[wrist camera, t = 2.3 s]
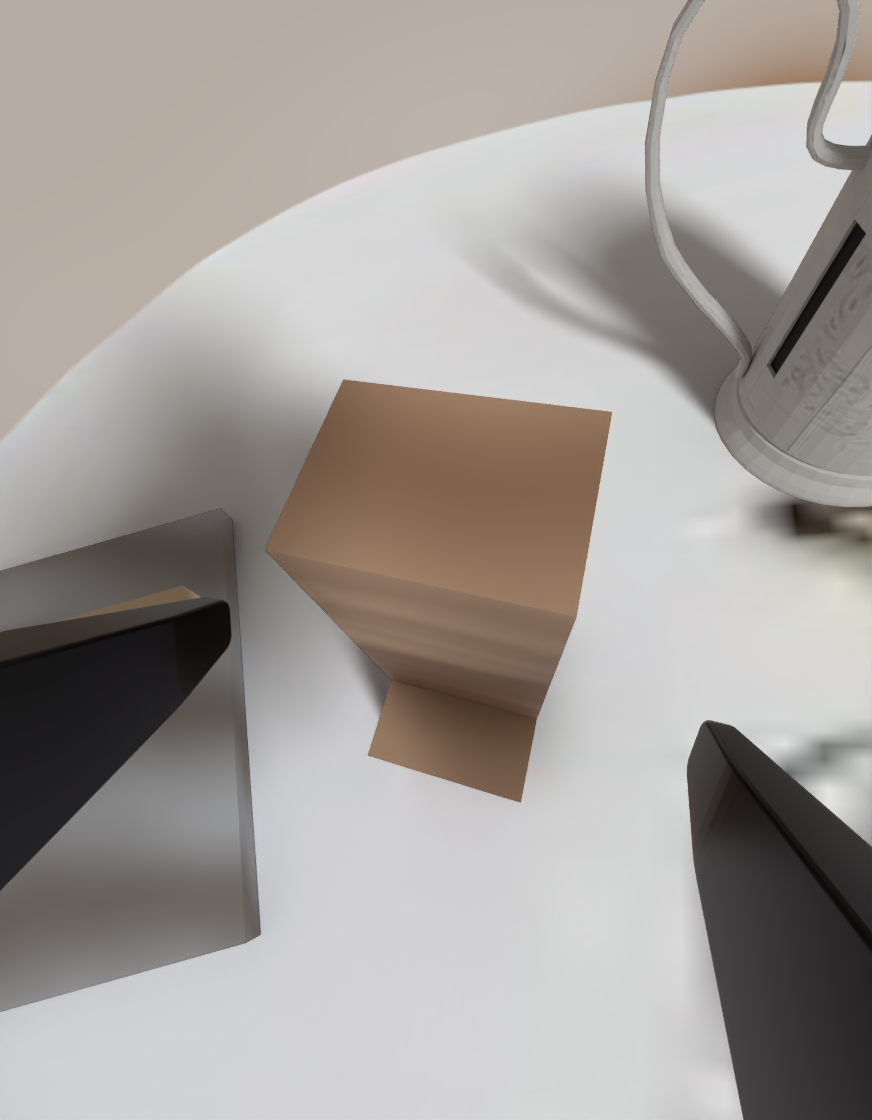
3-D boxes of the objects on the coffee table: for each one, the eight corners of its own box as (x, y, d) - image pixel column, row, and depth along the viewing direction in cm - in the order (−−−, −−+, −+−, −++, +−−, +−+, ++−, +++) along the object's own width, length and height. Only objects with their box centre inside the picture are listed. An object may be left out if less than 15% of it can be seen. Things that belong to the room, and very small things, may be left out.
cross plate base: (260, 934, 16) (187, 975, 12) (-102, 1036, 16) (-281, 1106, 12) (232, 519, 23) (181, 467, 19) (-17, 590, 23) (-113, 551, 19)
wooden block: (516, 801, 16) (542, 809, 5) (403, 766, 17) (193, 700, 6) (554, 607, 19) (629, 310, 7) (454, 586, 20) (383, 292, 8)
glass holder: (953, 529, 18) (2142, -185, 5) (571, 456, 22) (673, -76, 9) (941, 361, 22) (1644, -344, 8) (610, 321, 25) (728, -217, 12)
